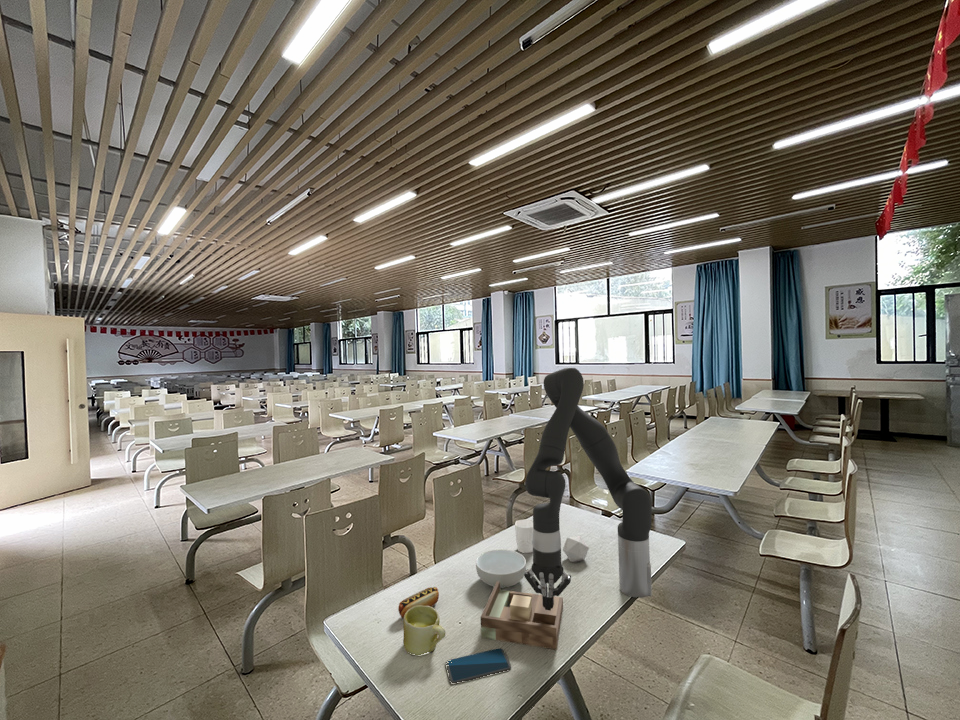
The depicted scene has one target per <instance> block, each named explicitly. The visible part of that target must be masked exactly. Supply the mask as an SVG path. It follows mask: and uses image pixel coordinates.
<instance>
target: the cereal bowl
mask: <svg viewBox="0 0 960 720" xmlns="http://www.w3.org/2000/svg"><path fill="white" fill-rule="evenodd" d="M475 569H476V574H477V576H478V577H479V579H480V580H481V581H482V582H483V583H484V584H487V585H488V586H491V587H494V586H495V584H496V582H497V581H498V582H500V589H502V588H509V587H512V586H515V585H516V584H518V583H519V582H521V581H522V579H523V578H525V577H524V574H525V571H526V570H527V560H526V558H525V557H524V555H523V554H521V553H520V552H517V551H516V550H511V549H504V548H503V549H491V550H487V551H485V552H483V553H481V554H480V555H479V556H478V557H477V558H476V560H475Z"/></svg>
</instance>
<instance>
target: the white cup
mask: <svg viewBox="0 0 960 720" xmlns="http://www.w3.org/2000/svg"><path fill="white" fill-rule="evenodd" d="M514 529H515V541H516V548H517V551H518V553H523V554H530V553H533V544H532V540H533V538H532V537H533V519H532V520H531V519H527V518H526V519H519V520H516V521H515V523H514Z"/></svg>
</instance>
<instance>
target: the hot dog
mask: <svg viewBox="0 0 960 720" xmlns="http://www.w3.org/2000/svg"><path fill="white" fill-rule="evenodd" d="M439 597H440V592H439V589H438V587H436V586H433V587H427V588H425V589H422V590H420V591H418V592H416V593H414V594H412V595H410V596H408V597H406V598H405V599H403V600H401V601H400V602H399V603H398V608H397V610H398V613H399V616H400V617H401V618H402V619H404V615H405V613H406V612H407V610H409V609H410V608H413V607H415V606H420V605H421V606H430V607H434V606H435V605H436V604H437V602H438V601H439Z"/></svg>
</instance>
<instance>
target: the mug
mask: <svg viewBox="0 0 960 720" xmlns="http://www.w3.org/2000/svg"><path fill="white" fill-rule="evenodd" d="M402 619H403V621H402V622H403V624H402V625H403V628H402V629H403V639H402V641H403V647H404V650H405V651H407V652H406V653H408V652H409V653H408V654H410V653H411V654H410V655H412V654H415V655H421V654H424V653H427V652H431V651H432V652H434V650H435V649H436V647H437V644H438V643H439V642H440V641H441V640H443V639H444V638H446V634H447V633H446V630H445V628H444V627H443V626H442V625H441V624H440V615H439V612H438V611H437V610H436V609H435V608H434V606H432V607H430V606H421V605H420V606H415V607H413V608H410V609H409V610H407V612H406V613H405V615H404V618H402ZM432 652H431V653H432ZM415 655H414V656H415Z"/></svg>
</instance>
